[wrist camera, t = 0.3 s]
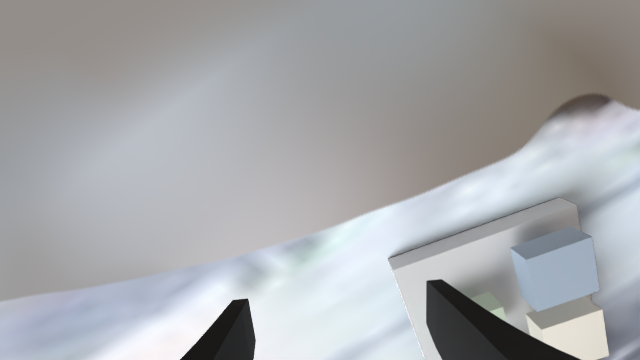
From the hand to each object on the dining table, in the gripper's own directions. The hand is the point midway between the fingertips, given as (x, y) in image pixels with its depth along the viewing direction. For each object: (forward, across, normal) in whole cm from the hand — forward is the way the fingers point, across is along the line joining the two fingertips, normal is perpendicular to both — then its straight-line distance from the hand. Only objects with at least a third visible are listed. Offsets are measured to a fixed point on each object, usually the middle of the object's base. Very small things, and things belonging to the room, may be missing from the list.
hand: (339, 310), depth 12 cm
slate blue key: (+7, -14, +4) cm, 16 cm away
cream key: (+7, -16, +9) cm, 19 cm away
